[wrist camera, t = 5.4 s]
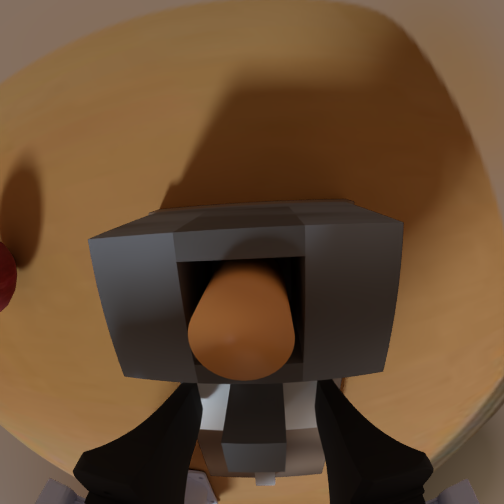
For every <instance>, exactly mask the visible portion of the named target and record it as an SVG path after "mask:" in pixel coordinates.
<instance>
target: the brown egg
mask: <svg viewBox="0 0 504 504" xmlns="http://www.w3.org/2000/svg"><path fill="white" fill-rule="evenodd" d="M188 340H189V344H190V347H191V350H192V352H193V354H194V355H195V357H196V358H197V359H198V361H199V362H200V363H201V364H202V365H203V366H204V367H206V368H207V369H208V370H210V371H211V372H213V373H215V374H217V375H219V376H222V377H224V378H228V379H232V380H240V381H247V380H256V379H260V378H264V377H266V376H269V375H271V374H272V373H274V372H276V371H277V370H279V369H280V368H281V367H282V366H283V365H284V364H285V363H286V362H287V360H288V359H289V357H290V356H291V353H292V351H293V348H294V343H295V334H294V328H293V322H292V317H291V311H290V306H289V300H288V295H287V290H286V284H285V279H284V275H283V272H282V269H281V267H280V266H279V264H278V263H277V262H276V261H275V260H274V259H273V258H254V259H232V260H221V262H220V263H219V264H218V266H217V268H216V270H215V272H214V274H213V276H212V278H211V280H210V282H209V284H208V286H207V288H206V290H205V291H204V293H203V295H202V297H201V299H200V301H199V304H198V306H197V308H196V310H195V312H194V314H193V316H192V318H191V320H190V323H189V327H188Z"/></svg>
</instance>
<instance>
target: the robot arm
mask: <svg viewBox="0 0 504 504" xmlns="http://www.w3.org/2000/svg"><path fill="white" fill-rule="evenodd" d="M314 407H315V416H316V424H317V428H318V432H319V436H320V440H321V444H322V448H323V452H324V456H325V460H326V466H327V474H328V483H329V495H330V504H479V502H478V500H477V497H476V495H475V493H474V491H473V489H472V487H471V484H470V482H469V480H468V479H465V480H462V481H460V482H458V483H457V484H454V485H452V486H450V487H448V488H446V489H445V490H443V491H442V492H441V493H440V494H439V496H438V497H436V498H434V499H431V500H429V501H427V502H425V500H424V498H423V495H422V494H423V493H424V488H423V485H424V483H425V482H426V481H427V480H428V479H429V477H430V476H431V474H432V473H433V467H432V464H431V462H430V460H429V459H428V457H427V456H426V454H425V453H424V452H421V451H418V450H416V449H413V448H411V447H408V446H406V445H404V444H402V443H400V442H398V441H396V440H395V439H393V438H391V437H390V436H388V435H387V434H385V433H384V432H382V431H381V430H379V429H378V428H377V427H375V426H374V425H373V424H372V423H370V422H369V421H368V420H367V419H366V418H365V417H364V416H363V415H362V414H361V413H360V412H359V411H358V410H357V409H356V408H355V407H354V406H353V405H352V404H351V403H350V402H349V400H348V399H347V398H346V397H345V396H344V394H343V393H342V392H341V391H340V389H339V388H338V386H337V385H336V384H335V382H334V381H333V379H327V380H317V387H316V397H315V406H314ZM202 414H203V406H202V402H201V398H200V394H199V390H198V385H197V383H185V382H182V383H181V384H180V385H179V387H178V388H177V389H176V390H175V391H174V392H173V394H172V395H171V396H170V397H169V398H168V399H167V400H166V401H165V402H164V403H163V404H162V405H161V406H160V407H159V408H158V409H157V410H156V411H155V412H154V413H153V414H152V415H151V416H150V417H149V418H147V419H146V420H145V421H144V422H143V423H141V424H140V425H139V426H137V427H136V428H135V429H133V430H132V431H130V432H128V433H127V434H125V435H123V436H122V437H120V438H118V439H116V440H114V441H112V442H110V443H108V444H106V445H103V446H101V447H98V448H95V449H92V450H89V451H86V452H83V454H82V455H81V457H80V459H79V461H78V462H77V464H76V466H75V468H74V470H73V473H74V476H75V477H76V478H77V480H78V481H79V482H80V483H81V484H82V485H83V486H84V487H85V488H86V489H87V490H88V491H89V493H88V495H87V497H86V499H85V498H83V497H80V496H78V495H77V494H76V493H75V492H74V491H73V490H72V489H71V488H69V487H68V486H66V485H64V484H62V483H60V482H58V481H56V480H54V479H52V478H49V480H48V481H47V483H46V485H45V487H44V488H43V490H42V492H41V494H40V495H39V497H38V499H37V501H36V503H35V504H218V501H217V499H216V497H215V495H214V492H213V490H212V488H211V485H210V483H209V481H208V478H207V476H206V474H205V473H204V472H202V471H194V470H189V465H190V461H191V457H192V454H193V450H194V447H195V444H196V440H197V437H198V434H199V430H200V426H201V421H202Z"/></svg>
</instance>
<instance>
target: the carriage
mask: <svg viewBox="0 0 504 504" xmlns="http://www.w3.org/2000/svg"><path fill="white" fill-rule="evenodd" d="M197 385H198V390H199V394H200V398H201V402H202V406H203V414H202V421H201V426H200V429H206V430H223V434H222V440H221V445H222V449H223V453H224V457H225V461H226V464H227V468H228V472H285V468H286V448H287V439H286V430H292V429H305V428H316V427H317V424H316V416H315V407H314V406H315V397H316V387H317V381H305V382H291V383H272V384H204V383H197Z"/></svg>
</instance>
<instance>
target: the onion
mask: <svg viewBox="0 0 504 504" xmlns="http://www.w3.org/2000/svg"><path fill="white" fill-rule="evenodd" d="M16 281H17V269H16V263H15V260H14V258H13V256H12V254H11V253H10V251H9V250H8V248H7V247H6V246H5V245H4V244H3V243H2V242H0V312H1V311H2V310H3V309H4V308H5V307H6V306H8V304H9V302H10V300H11V298H12V296H13V294H14V291H15V287H16Z"/></svg>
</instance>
